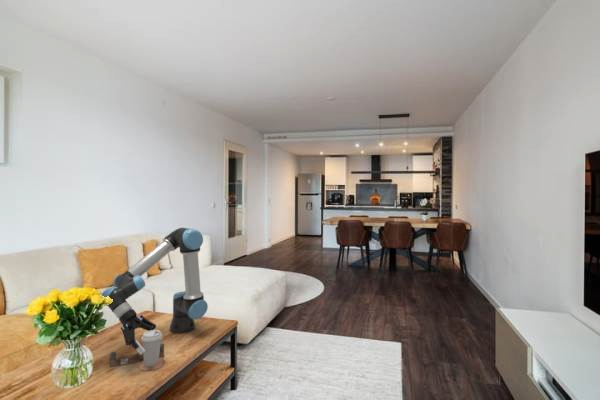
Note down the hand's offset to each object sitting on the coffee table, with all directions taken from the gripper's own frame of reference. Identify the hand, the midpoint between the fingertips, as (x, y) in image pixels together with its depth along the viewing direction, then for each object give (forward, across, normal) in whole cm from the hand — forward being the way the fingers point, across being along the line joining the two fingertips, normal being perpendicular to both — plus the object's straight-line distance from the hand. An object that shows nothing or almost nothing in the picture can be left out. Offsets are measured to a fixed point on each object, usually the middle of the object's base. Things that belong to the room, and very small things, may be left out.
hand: (151, 346), depth 159 cm
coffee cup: (+6, 0, -6) cm, 9 cm away
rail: (+3, +3, -10) cm, 11 cm away
